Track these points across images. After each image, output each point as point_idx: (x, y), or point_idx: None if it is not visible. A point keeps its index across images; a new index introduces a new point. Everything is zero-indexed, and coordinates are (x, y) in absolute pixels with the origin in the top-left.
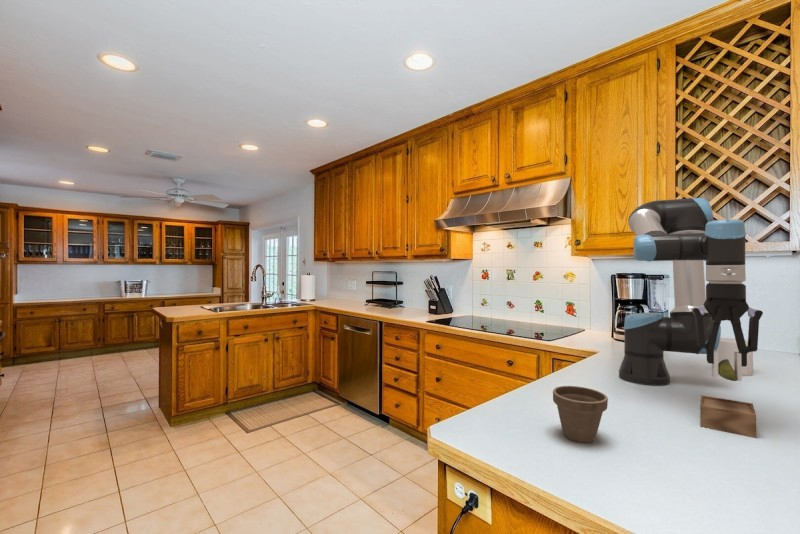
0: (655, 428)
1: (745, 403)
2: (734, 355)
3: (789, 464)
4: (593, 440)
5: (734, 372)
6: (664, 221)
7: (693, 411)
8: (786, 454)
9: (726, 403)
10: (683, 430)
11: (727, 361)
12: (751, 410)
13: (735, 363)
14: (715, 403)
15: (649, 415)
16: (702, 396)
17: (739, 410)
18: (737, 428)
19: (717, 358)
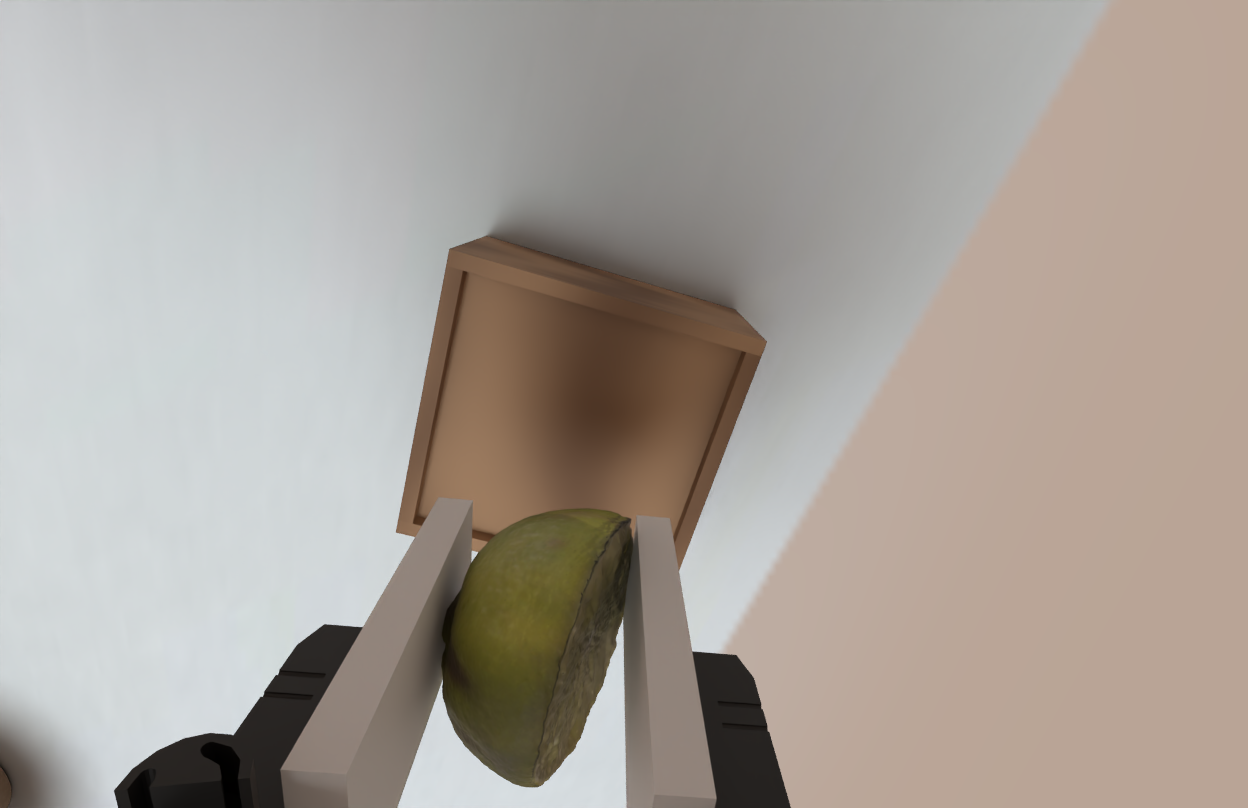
0: (225, 573)
1: (720, 342)
2: (648, 739)
3: None
4: (10, 799)
5: (577, 731)
6: None
7: (451, 166)
8: None
9: (594, 361)
10: (349, 549)
11: (516, 781)
12: (698, 468)
13: (637, 679)
14: (517, 393)
15: (184, 380)
16: (452, 287)
17: (623, 493)
18: None
19: (391, 799)
